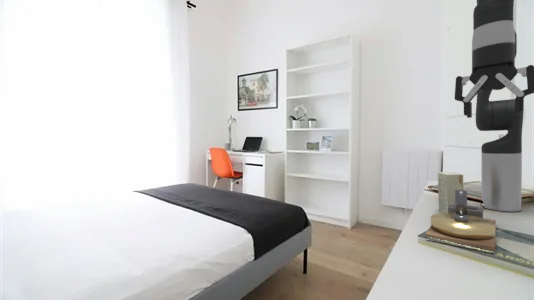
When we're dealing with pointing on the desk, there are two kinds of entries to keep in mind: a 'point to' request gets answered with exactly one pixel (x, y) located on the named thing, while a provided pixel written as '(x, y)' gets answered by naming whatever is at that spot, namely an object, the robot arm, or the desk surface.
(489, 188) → the robot arm
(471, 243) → the tan piece
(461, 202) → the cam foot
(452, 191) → the skincare box
